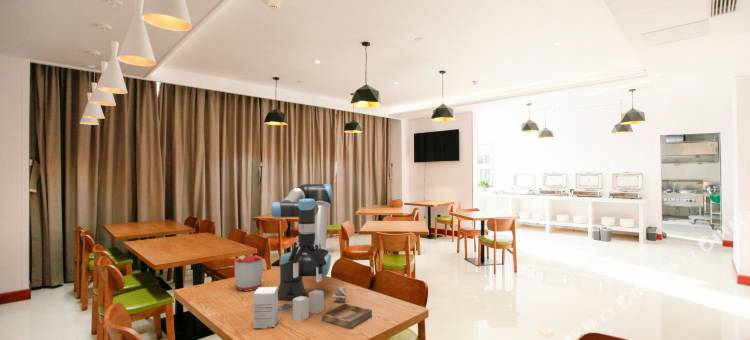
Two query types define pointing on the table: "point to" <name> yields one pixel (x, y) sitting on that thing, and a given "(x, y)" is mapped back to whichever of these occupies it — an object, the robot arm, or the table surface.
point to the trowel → (285, 307)
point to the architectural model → (340, 294)
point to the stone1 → (300, 308)
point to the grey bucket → (248, 272)
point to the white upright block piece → (316, 301)
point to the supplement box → (265, 307)
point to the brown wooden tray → (346, 315)
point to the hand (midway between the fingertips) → (307, 279)
